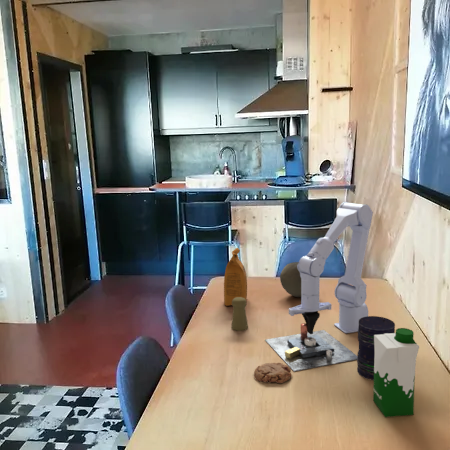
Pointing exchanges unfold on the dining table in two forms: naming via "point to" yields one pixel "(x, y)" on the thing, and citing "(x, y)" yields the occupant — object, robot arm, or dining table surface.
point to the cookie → (272, 373)
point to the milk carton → (395, 372)
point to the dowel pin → (328, 355)
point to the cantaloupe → (291, 279)
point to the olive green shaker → (239, 314)
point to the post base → (311, 360)
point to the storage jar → (370, 342)
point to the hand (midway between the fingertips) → (310, 332)
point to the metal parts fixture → (301, 350)
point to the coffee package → (234, 279)
